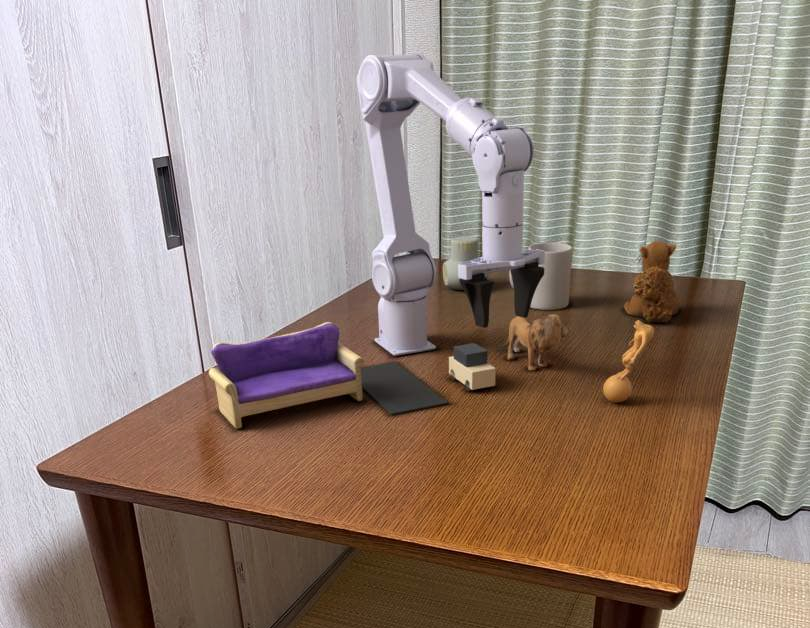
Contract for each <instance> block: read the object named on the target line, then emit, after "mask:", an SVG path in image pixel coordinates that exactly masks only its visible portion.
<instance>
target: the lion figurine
mask: <svg viewBox="0 0 810 628" xmlns="http://www.w3.org/2000/svg"><path fill="white" fill-rule="evenodd" d="M568 332H569V327H568V326H567V325H564V323H563V322H562V320H561V319H560V315H559V314H555V313H554V314H548V315H545V316H541V317H539V318H538V319H534V320H532V322H531V323H530V322H529V321H528V319H527V317H526V318H523V317H519V316H515V317H514V318H512V319H511V321H510V323H509V327H508V339H507V340H506V341H505V343H502V344H501V345H499V346H498V347H499V348H500V349H505V348H507V356H506V357H507V360H509V361H512V360H514V359H515V355H514V353H513V351H514V352H515V353H520V352H521V349H522V348H520V347H519V345H520V344H521V345H522V346H523V347H525V348H527V356H528V357H527V358H528V366H527V367H528V368H527V369H528V371H529V372H535V371H537V367H536V363H535V358H536V353H538V359H537V362H538V363H537V364H538V366H540V367H542V368H546V367H547V366H548V363H547V362H546V361H545V356H546V354H547V353H549V352H551V351H552V348H555V347H556V346H557V345H558V344H559V343H560V342H561V340H565V337H566V335H568Z"/></svg>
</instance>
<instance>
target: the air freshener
mask: <svg viewBox="0 0 810 628" xmlns="http://www.w3.org/2000/svg"><path fill="white" fill-rule="evenodd" d="M479 241H480V240H479V239H478V238H477V237H475V236H469V235H467V236H466V235H465V236H463V235H461V236H455V237H452V238H451V240H450V258H449V259H447V260H445V262H444V263H443V264H442V278H443V282H444V285H445V286H447V288H449V289H451V290H454V291H455V290H456V291H457V290H458V291H464V289H463V287H462V286H461V284H460V281H459V278H458V264H461V263H465V262H468V261H471V260H474V259H477V258H479V249H480V248H479V243H480V242H479ZM485 277H487V278H488V274H487V275H485Z"/></svg>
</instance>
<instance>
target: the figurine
mask: <svg viewBox="0 0 810 628" xmlns="http://www.w3.org/2000/svg"><path fill="white" fill-rule="evenodd" d="M633 328H634V329H635V332H634V337H633V338H632V339H631V340H630V341H629V342H628V346H629V347H630V348H629V349H627V350H626V352H625V353H623V354H622V356H621V357H622V365H623V366H624V367H625V369H623V370H622V371H620V372H618V373H616V374H614V375H611V376H609V377H608V378H607V379H606V380H605V382H604V384H603V389H602V392H603V394H604V395H603V396H604V397H605V398H606V399H607V400H608V401H609V402H612V403H618V404H619V403H622V402H625V401H626V400H627V399H628V398H629V397H630V396H631V393H632V390H633V387H632V382H631V380H630V379H629V378H628V377H627V376H628V375H629V374H630V373H631V371H632V366H633V365H634V363H635V362H636V359H637V357H638V356H639V355H640V354H641V352H642V351H643V349H645V347H646V345H647V344H648V343H649V341H650V340H651V339H652V338H653V336H654V335H655V328H654V327H653V325H650V324H647V323H644V322H642V321H641V320H639V319H638V320H636V321H635V322H634V325H633Z"/></svg>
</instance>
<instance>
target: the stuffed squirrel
mask: <svg viewBox="0 0 810 628" xmlns="http://www.w3.org/2000/svg"><path fill="white" fill-rule="evenodd" d="M676 250H677V245H676V244H674V243H671V244H669V245H668V243H666V242H665V241H661V240H659V241H658V240H656V241H652V242H650V243H649V244H647V245H646V246H639V248H638V251H639V253H640V254H639V256H637V258H635V261H637V263H638V264H639V263H640V262H641V266H642V272H641V273H640V274H637V275H636V276H635V278H634V281H633V282H634V283H633V284H632V287H633V290H634V291H633V292H632V293H633V294H634V295H632V297H631V300H630V301H626V302H625V303H624V305H623V307H624V310H625V312H626V313H627V314H628V315H629V316H633V317H637V318H643V319H645V320H646V322H649V323H668V322H669V320H672V316H674V315H676V314H678V311H679V308H680V302H681V301H680V297H679V295H678V294H677V292H676V291H675V282H674V280H673V276H672V274H671V272H669V267H670V264H671V260H670V259H671V256H672V255H673V254H674V252H675V251H676Z"/></svg>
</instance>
